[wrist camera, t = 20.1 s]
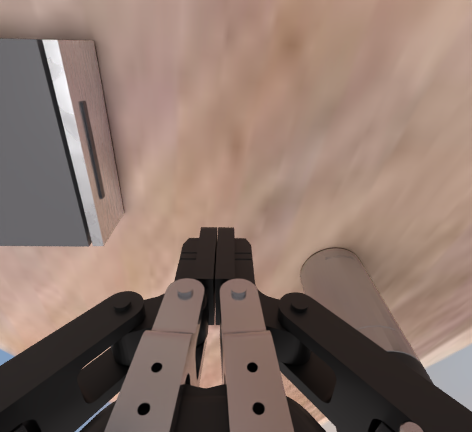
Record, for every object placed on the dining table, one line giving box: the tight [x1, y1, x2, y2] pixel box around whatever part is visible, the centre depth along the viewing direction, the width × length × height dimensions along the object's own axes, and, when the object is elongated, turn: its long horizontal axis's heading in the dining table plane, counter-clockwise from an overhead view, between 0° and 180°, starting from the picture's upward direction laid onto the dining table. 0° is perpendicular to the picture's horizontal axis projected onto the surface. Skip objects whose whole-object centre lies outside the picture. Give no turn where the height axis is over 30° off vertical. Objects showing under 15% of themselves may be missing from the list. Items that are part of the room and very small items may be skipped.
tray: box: [42, 40, 124, 246], centre depth 33 cm, size 18×20×8 cm
